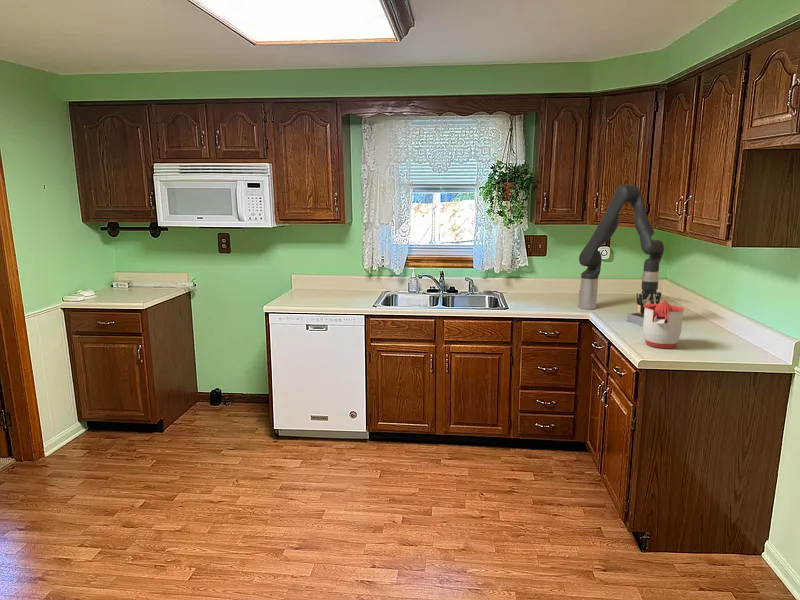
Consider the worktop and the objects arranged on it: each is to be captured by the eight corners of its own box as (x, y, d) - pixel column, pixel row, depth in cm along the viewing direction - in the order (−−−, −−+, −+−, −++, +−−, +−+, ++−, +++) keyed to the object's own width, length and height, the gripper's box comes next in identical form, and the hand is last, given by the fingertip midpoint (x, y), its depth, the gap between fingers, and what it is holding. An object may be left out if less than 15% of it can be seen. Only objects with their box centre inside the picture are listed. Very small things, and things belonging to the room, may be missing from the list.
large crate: (626, 321, 288) (627, 313, 287) (648, 319, 292) (649, 311, 291) (644, 326, 276) (644, 318, 276) (666, 324, 281) (667, 316, 280)
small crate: (637, 312, 286) (638, 303, 285) (645, 311, 288) (646, 302, 287) (648, 315, 279) (649, 306, 278) (657, 315, 280) (658, 305, 279)
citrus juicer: (636, 347, 240) (640, 301, 236) (644, 338, 254) (648, 295, 250) (676, 353, 231) (681, 306, 227) (682, 344, 245) (687, 299, 241)
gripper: (655, 278, 286) (653, 310, 289) (633, 279, 281) (630, 312, 284) (667, 280, 279) (664, 313, 282) (644, 281, 274) (641, 315, 277)
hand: (647, 312), depth 283 cm, fingers closed on small crate, 5 cm apart
